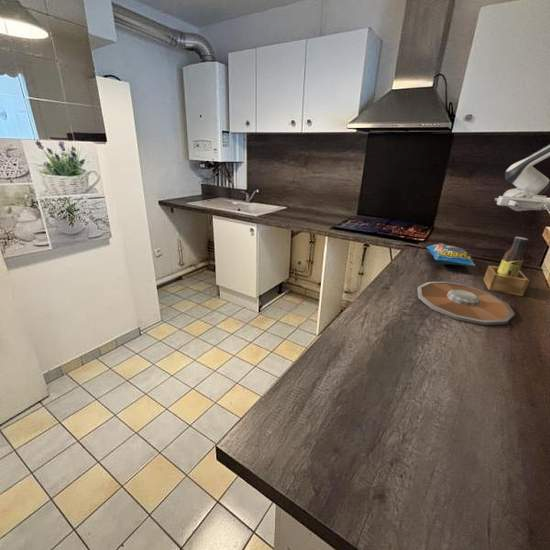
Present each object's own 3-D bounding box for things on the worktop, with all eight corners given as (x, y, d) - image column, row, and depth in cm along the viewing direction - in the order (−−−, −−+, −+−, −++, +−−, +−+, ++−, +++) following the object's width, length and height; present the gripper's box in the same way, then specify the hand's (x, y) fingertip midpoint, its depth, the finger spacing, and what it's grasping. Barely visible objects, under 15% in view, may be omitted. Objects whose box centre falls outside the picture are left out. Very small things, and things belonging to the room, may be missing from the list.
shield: (427, 270, 122) (516, 292, 106) (425, 277, 123) (513, 300, 107) (408, 296, 100) (517, 329, 84) (406, 304, 101) (513, 338, 85)
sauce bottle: (503, 289, 114) (523, 240, 106) (488, 282, 119) (506, 236, 111) (515, 288, 115) (535, 240, 107) (500, 281, 121) (518, 235, 113)
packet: (432, 269, 132) (437, 252, 129) (424, 253, 153) (428, 237, 149) (474, 275, 128) (481, 257, 124) (460, 258, 149) (466, 242, 145)
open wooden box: (514, 285, 120) (520, 270, 117) (522, 296, 111) (529, 280, 108) (483, 279, 124) (488, 265, 121) (488, 289, 115) (494, 274, 112)
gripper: (495, 191, 137) (503, 195, 125) (550, 196, 129) (563, 200, 118) (491, 205, 139) (498, 210, 128) (544, 210, 132) (556, 216, 120)
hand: (530, 205), depth 123 cm, fingers open, 8 cm apart
